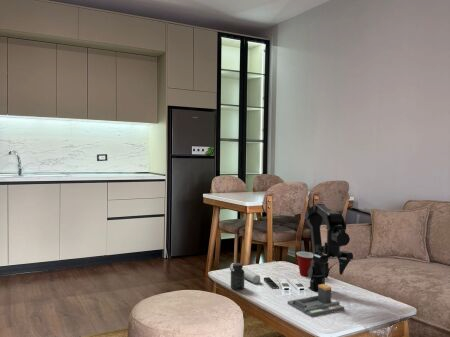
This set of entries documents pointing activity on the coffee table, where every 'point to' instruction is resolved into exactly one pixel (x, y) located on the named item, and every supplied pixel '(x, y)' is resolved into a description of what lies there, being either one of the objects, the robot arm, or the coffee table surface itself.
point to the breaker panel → (315, 306)
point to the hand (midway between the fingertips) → (332, 275)
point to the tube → (249, 275)
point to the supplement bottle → (237, 277)
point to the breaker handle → (324, 293)
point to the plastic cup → (304, 262)
